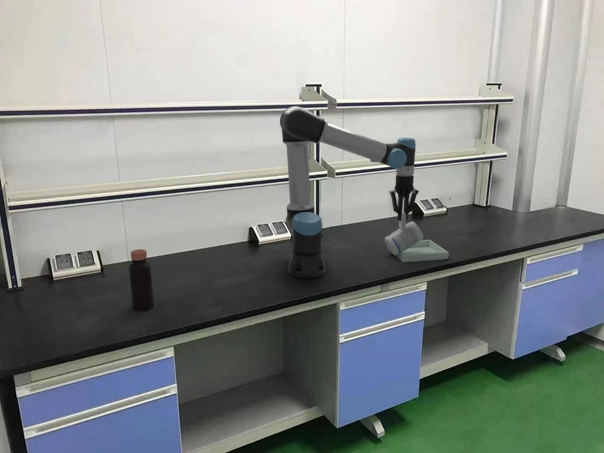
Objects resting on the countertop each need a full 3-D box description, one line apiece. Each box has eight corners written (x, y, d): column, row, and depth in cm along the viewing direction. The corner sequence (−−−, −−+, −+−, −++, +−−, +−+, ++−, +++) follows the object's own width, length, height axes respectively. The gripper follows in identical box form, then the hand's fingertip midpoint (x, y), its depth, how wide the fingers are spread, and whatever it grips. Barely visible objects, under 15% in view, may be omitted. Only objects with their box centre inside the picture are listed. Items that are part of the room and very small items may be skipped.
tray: (403, 262, 211) (404, 255, 210) (387, 248, 228) (388, 242, 227) (448, 259, 216) (448, 252, 215) (429, 246, 233) (429, 239, 232)
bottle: (151, 311, 164) (146, 255, 159) (130, 311, 164) (125, 255, 158) (155, 302, 171) (151, 248, 165) (135, 302, 170) (130, 248, 164)
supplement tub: (397, 260, 217) (425, 243, 219) (393, 246, 211) (421, 228, 213) (386, 247, 225) (413, 231, 226) (381, 233, 219) (409, 217, 220)
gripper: (393, 177, 205) (391, 231, 212) (423, 175, 207) (419, 228, 214) (386, 173, 212) (384, 226, 219) (415, 172, 214) (412, 224, 221)
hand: (402, 227), depth 216 cm, fingers closed
